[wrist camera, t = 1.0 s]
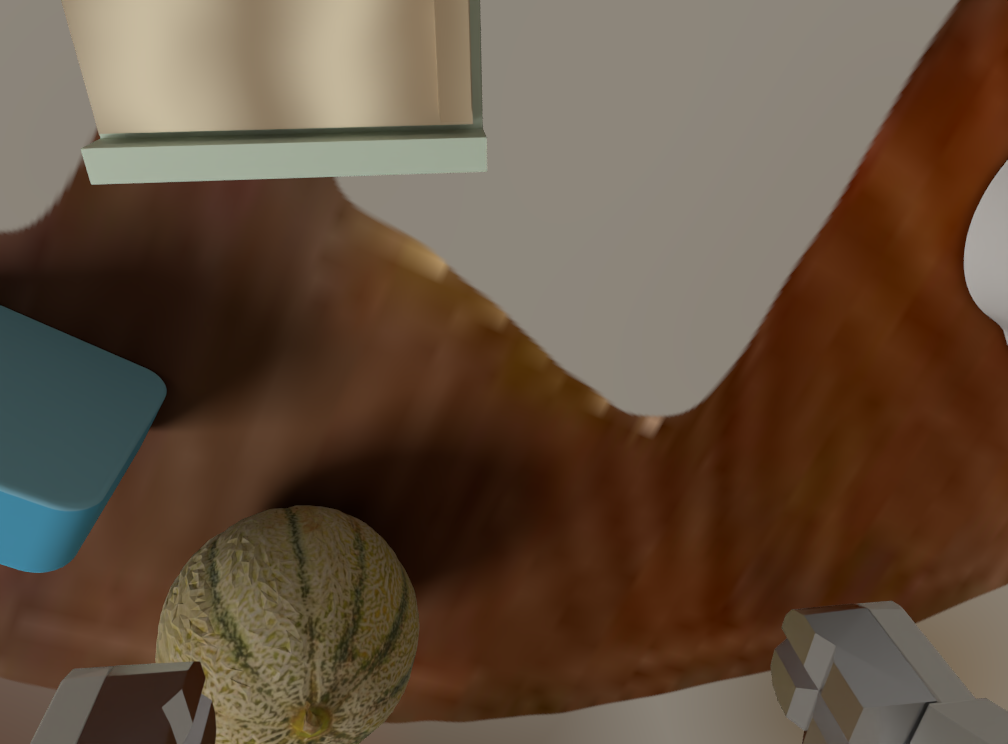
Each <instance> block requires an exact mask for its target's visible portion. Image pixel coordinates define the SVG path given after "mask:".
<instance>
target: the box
mask: <svg viewBox="0 0 1008 744" xmlns="http://www.w3.org/2000/svg"><path fill="white" fill-rule="evenodd" d="M480 31H481V27H480V0H470V36H471V72H472V109H473V124H459V125H421V126H382V127H344V128H306V129H268V130H229V131H191V132H153V133H115V134H100V138H101V139H99V140H97V141H95V142H93V143H91V144H89V145H87V146H85V147H83V148H81V152H82V155H83V159H84V162H85V165H86V169H87V172H88V175H89V179H90V182H91V185H92V184H123V183H153V182H184V181H215V180H246V179H276V178H307V177H338V176H365V175H366V176H369V175H398V174H427V173H460V172H487V137H486V135H485V133H484V130H483V124H482V75H481V32H480Z"/></svg>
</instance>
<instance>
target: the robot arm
mask: <svg viewBox="0 0 1008 744" xmlns="http://www.w3.org/2000/svg"><path fill="white" fill-rule="evenodd" d="M964 273H965V279H966V283H967V287H968V289H969V292H970V294H971V296H972V298H973V300H974V301H975V303H976V304H977V306H978V307H979V308H980V309H981V310H982V311H983V312H984V313H985V314H986V315H988V316H989V317H990V318H992V319H993V320H994V321H995V322H997V323H998V324H999V325H1000V326H1001V327H1002V329H1003V330H1004V334H1005V338H1006V341H1007V344H1008V160H1007V161H1006V163H1005V164H1004V165H1003V166H1002V168H1001V169H1000V170H999V172H998V173H997V174H996V176H995V177H994V179H993V180H992V182H991V183H990V185H989V186H988V188H987V190H986V191H985V193H984V195H983V197H982V198H981V201H980V203H979V205H978V207H977V209H976V211H975V213H974V216H973V219H972V221H971V224H970V227H969V231H968V234H967V239H966V244H965V251H964ZM782 629H783V631H784V633H785V635H786V636H787V639H786V640H785V641H784V642H782V643H781V644H780V645H779V646H778V647H777V648H776V649H775V651H774V654H773V658H772V662H771V673H772V683H773V687H774V690H775V694H776V697H777V700H778V702H779V704H780V706H781V708H782V710H783V712H784V714H785V716H786V717H787V718H788V719H789V720H791V721H792V722H794V723H795V724H796V725H797V726H799V727H800V728H801V729H803V730H804V735H803V742H802V744H1008V711H1006V710H1005V709H1003V708H1001V707H1000V706H998V705H996V704H995V703H993V702H992V701H990V700H988V699H987V698H979V699H976V698H975V697H974V696H973V695H972V694H971V692H970V691H969V690H968V689H967V687H966V686H965V685H964V684H963V682H962V681H961V680H960V679H959V677H958V676H957V675H956V674H955V672H954V671H953V670H952V669H951V668H950V666H949V665H948V664H947V663H946V661H945V660H944V659H943V658H942V656H941V655H940V654H939V653H938V651H937V650H936V649H935V648H934V646H933V645H932V644H931V643H930V642H929V640H928V639H927V638H926V637H925V635H924V634H923V633H922V632H921V630H920V629H919V628H918V627H917V625H916V624H915V623H914V622H913V620H912V619H911V618H910V617H909V616H908V614H907V613H906V612H905V611H904V609H903V608H902V607H901V606H899V605H898V604H896V603H894V602H893V601H885V602H873V603H862V604H843V605H833V606H823V607H813V608H803V609H792V610H791V611H790V612H789V613H788V614H787V615H786V616H785V619H784V622H783V625H782ZM205 679H206V677H205V674H204V671H203V668H202V665H201V662H200V661H191V662H174V663H157V664H140V665H122V666H109V667H95V668H82V669H73V670H72V671H71V672H70V673H69V674H68V675H67V676H66V677H65V678H64V679H63V681H62V682H61V683H60V685H59V687H58V689H57V691H56V694H55V695H54V698H53V699H52V701H51V703H50V705H49V707H48V709H47V711H46V713H45V715H44V717H43V720H42V721H41V723H40V725H39V727H38V729H37V731H36V733H35V735H34V737H33V739H32V741H31V743H30V744H215V740H216V717H215V710H214V706H213V702H212V700H211V699H209V698H208V697H206V696H205V695H203V694H202V690H203V686H204V683H205Z"/></svg>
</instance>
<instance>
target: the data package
mask: <svg viewBox="0 0 1008 744" xmlns="http://www.w3.org/2000/svg"><path fill="white" fill-rule="evenodd" d="M166 393H167V389H166V386H165V383H164V382H163V380H162V379H161V378H160V377H159V376H158V375H156V374H155V373H154V372H152V371H150V370H149V369H147V368H144V367H142V366H140V365H137V364H135V363H133V362H130V361H128V360H126V359H124V358H121V357H119V356H117V355H114V354H112V353H110V352H107V351H105V350H103V349H100V348H98V347H96V346H94V345H91V344H89V343H87V342H84V341H82V340H80V339H77V338H75V337H73V336H70V335H68V334H66V333H64V332H61V331H59V330H57V329H54V328H52V327H50V326H47V325H45V324H43V323H40V322H38V321H36V320H34V319H31V318H29V317H27V316H24V315H22V314H20V313H17V312H15V311H13V310H10V309H8V308H6V307H4V306H1V305H0V564H2V565H5V566H8V567H11V568H15V569H18V570H21V571H25V572H34V573H42V572H49V571H53V570H56V569H59V568H61V567H63V566H65V565H66V564H68V563H69V562H70V561H71V560H72V559H73V558H74V557H75V556H76V554H77V552H78V551H79V549H80V547H81V546H82V544H83V542H84V541H85V539H86V537H87V536H88V534H89V532H90V531H91V529H92V527H93V526H94V524H95V522H96V521H97V519H98V517H99V516H100V514H101V512H102V511H103V509H104V507H105V506H106V504H107V502H108V501H109V499H110V497H111V496H112V494H113V492H114V491H115V489H116V487H117V485H118V484H119V482H120V480H121V479H122V477H123V475H124V474H125V472H126V470H127V469H128V467H129V465H130V464H131V462H132V460H133V459H134V457H135V455H136V454H137V452H138V450H139V449H140V447H141V445H142V443H143V441H144V439H145V437H146V435H147V433H148V431H149V429H150V427H151V425H152V423H153V421H154V419H155V417H156V415H157V413H158V411H159V409H160V407H161V405H162V403H163V401H164V399H165V397H166Z"/></svg>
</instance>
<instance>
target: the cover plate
mask: <svg viewBox="0 0 1008 744" xmlns="http://www.w3.org/2000/svg"><path fill="white" fill-rule="evenodd" d="M61 1H62V5H63V8H64V12H65V15H66V19H67V22H68V26H69V29H70V33H71V37H72V40H73V44H74V47H75V51H76V54H77V57H78V61H79V65H80V68H81V72H82V75H83V79H84V82H85V86H86V90H87V93H88V97H89V100H90V104H91V107H92V111H93V114H94V118H95V121H96V125H97V129H98V132H99V134H115V133H153V132H191V131H229V130H268V129H306V128H344V127H382V126H421V125H459V124H473V109H472V72H471V36H470V0H61Z"/></svg>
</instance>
